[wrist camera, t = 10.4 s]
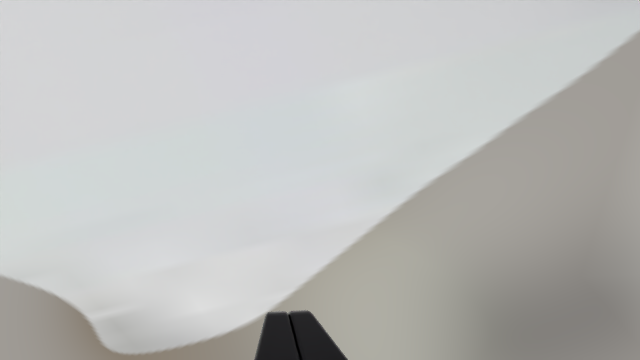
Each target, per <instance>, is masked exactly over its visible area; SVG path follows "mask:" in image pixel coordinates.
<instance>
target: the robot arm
mask: <svg viewBox="0 0 640 360" xmlns="http://www.w3.org/2000/svg"><path fill="white" fill-rule="evenodd" d="M254 360H348V359H347V358H346V357H345V355H344V354H343V353H342V352H341V350H340V349H339V348H338V346H337V345H336V344H335V342H334V341H333V340H332V339H331V337H330V336H329V335H328V333H327V332H326V331H325V330H324V328H323V327H322V326H321V324H320V323H319V322H318V321H317V319H316V318H315V317H314V315H313V314H312V313H311V312H309V311H306V310H304V311H291V312H289V313H287V312H284V311H282V312H268V313H267V314H266V316H265V319H264V323H263V327H262V331H261V335H260V340H259V344H258V347H257V351H256V355H255V359H254Z"/></svg>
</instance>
